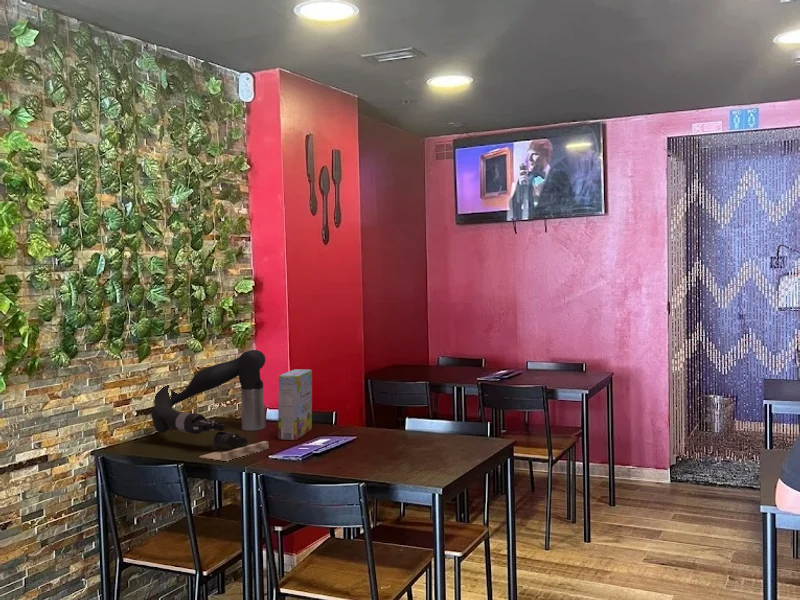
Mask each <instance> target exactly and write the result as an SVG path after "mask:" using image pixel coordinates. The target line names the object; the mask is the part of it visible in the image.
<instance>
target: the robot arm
mask: <svg viewBox="0 0 800 600" xmlns="http://www.w3.org/2000/svg"><path fill="white" fill-rule="evenodd" d="M265 363H266V356H265V354H264V353H263V352H262V351H260V350H258V349H249V350H247V351H244V352H243V353H241V355H240V356H239V357H236V358H235V359H231V360H227V361H224V362H220V363H218V364H214V365H211V366H207V367H205V368H203V369H201V370H200V369H199V370H198V371H197V372H196V373H195V374H194V375H193V377H192V379H191V380H190V382H189V383H188V385H187V386H186V388H185V389H183V390H182V391H180V392H181V393H179V392H178V393H179V394H177V393H175V392H173V393H172V395H171V396H172V397H171V399H170V397H169V393H168V388H169V385H167V386H165V387H163V388H162V389H161V390H160V391H159V392H158V393H157V394H156V396H155V399H154V407H152V409H151V412H150V415H151V416H150V417H151V419H152V424H153V427H154V430H155V431H156V432H159V433H166V432H167V433H168V431H170V430H173V431H180V432H183V433H188V434H195V435H199V434H201V433H203V432H210V431H218V432H221V431H222V432H223V431H225V424H224V423H221V421H220V419H218V418H216V419H214V420H212V419H209V418H206V417H205V416H204V415H203V414H201V413H193V412H182V411H181V412H180V411H177V410H176V409H174V408H173V406H175V405H177V404H179V403H181V402H183V401H185V400H188V399H189V398H192V397H194V396H197V395H199V394H202V393H204V392H208V391H210V390H212V389H215V388H217V387H221V386H222V385H224V384H226V383H227V382H229V381H232V380H233V379H235V378H237V377H238V380H239V381H238V382H239V384H240V397H241V399H240V401H241V402H240V403H241V409H240V410H241V430H242V431H250V432H252V431H259V430H260V431H261V430H263V429H265V428H266V427H267V426H266V424H267V423H266V405H265V404H264V382H263V380H262V379H261V374H260V373H261V371H260V370H261V369H263V367H264V366H265ZM172 405H173V406H172Z"/></svg>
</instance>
